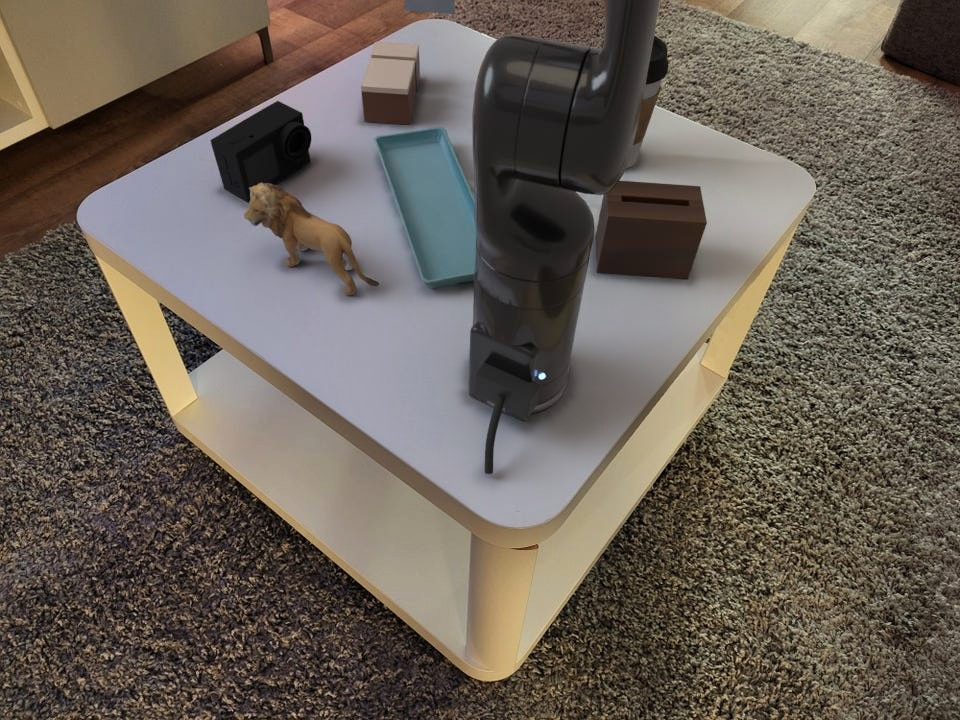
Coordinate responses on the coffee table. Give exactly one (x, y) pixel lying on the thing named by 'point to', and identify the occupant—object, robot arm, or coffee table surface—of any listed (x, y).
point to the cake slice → (398, 54)
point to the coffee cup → (650, 94)
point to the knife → (430, 6)
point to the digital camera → (262, 149)
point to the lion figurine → (303, 231)
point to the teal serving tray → (432, 203)
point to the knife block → (650, 229)
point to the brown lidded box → (389, 91)
